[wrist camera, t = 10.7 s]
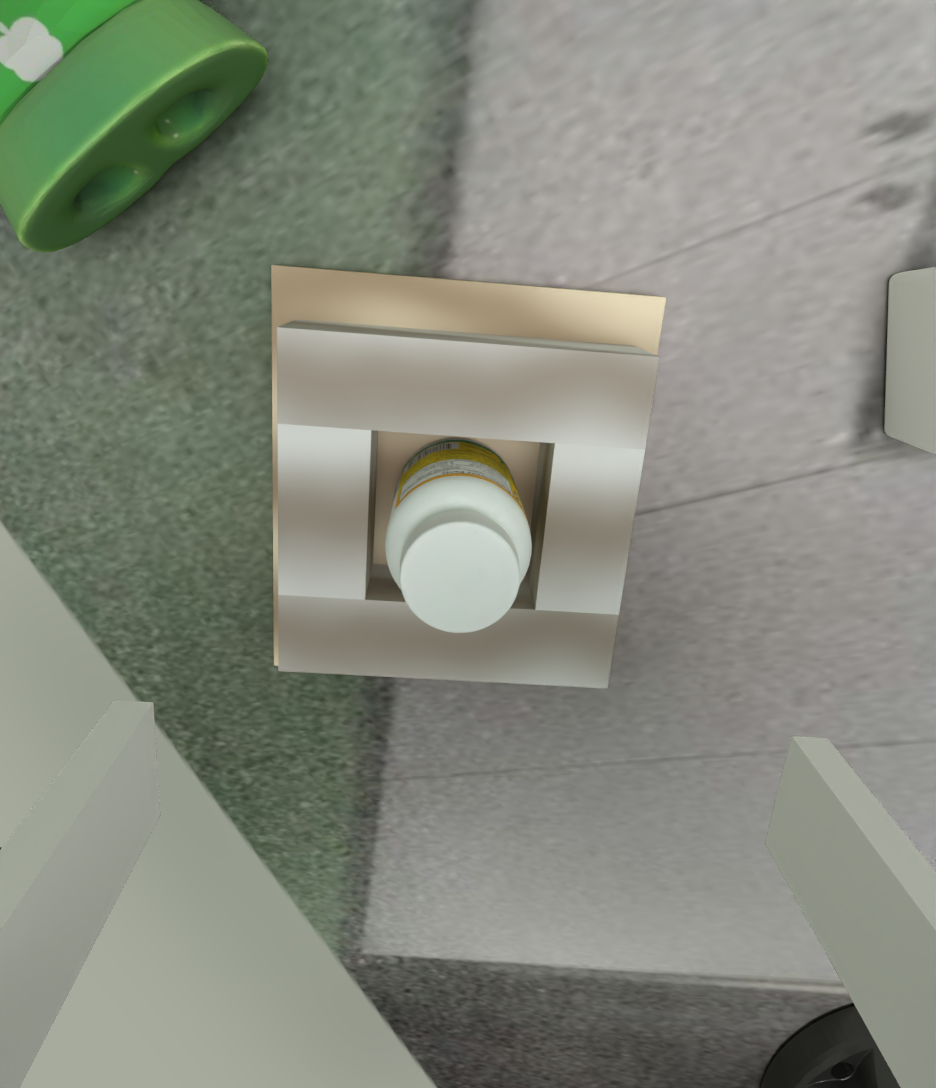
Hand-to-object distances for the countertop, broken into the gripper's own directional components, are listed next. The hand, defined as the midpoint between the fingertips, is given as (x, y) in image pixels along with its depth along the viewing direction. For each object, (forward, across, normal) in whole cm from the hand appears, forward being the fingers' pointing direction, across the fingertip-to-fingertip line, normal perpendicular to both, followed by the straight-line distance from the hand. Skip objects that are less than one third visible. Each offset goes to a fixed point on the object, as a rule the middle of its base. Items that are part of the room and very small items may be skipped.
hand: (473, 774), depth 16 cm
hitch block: (+21, 0, 0) cm, 21 cm away
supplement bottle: (+20, 0, 0) cm, 20 cm away
